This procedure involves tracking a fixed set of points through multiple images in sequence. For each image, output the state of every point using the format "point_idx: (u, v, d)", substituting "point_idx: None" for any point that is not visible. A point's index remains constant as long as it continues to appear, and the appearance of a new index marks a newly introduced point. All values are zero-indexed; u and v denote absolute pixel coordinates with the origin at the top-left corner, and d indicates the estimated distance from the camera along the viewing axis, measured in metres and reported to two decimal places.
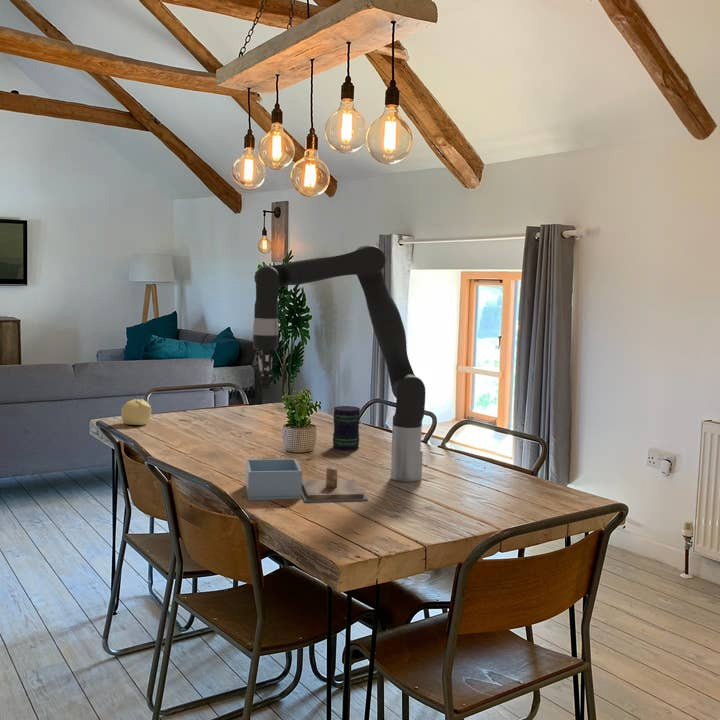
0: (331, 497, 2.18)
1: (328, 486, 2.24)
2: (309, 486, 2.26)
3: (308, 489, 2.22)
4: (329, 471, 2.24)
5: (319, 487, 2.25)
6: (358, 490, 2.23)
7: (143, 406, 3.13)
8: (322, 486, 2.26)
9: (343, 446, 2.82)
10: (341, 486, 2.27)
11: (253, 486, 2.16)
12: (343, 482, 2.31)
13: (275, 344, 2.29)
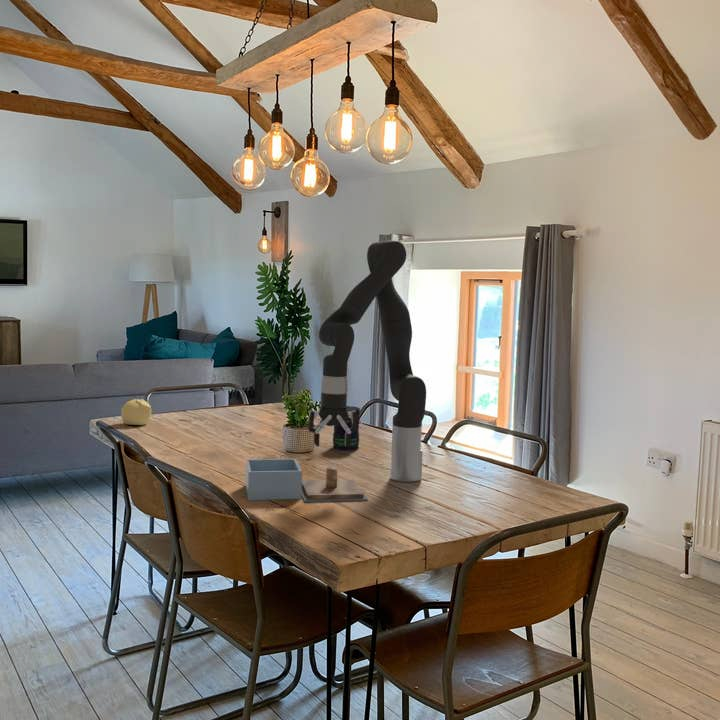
0: (331, 497, 2.18)
1: (328, 486, 2.24)
2: (309, 486, 2.26)
3: (308, 489, 2.22)
4: (329, 471, 2.24)
5: (319, 487, 2.25)
6: (358, 490, 2.23)
7: (143, 406, 3.13)
8: (322, 486, 2.26)
9: (343, 446, 2.82)
10: (341, 486, 2.27)
11: (253, 486, 2.16)
12: (343, 482, 2.31)
13: None
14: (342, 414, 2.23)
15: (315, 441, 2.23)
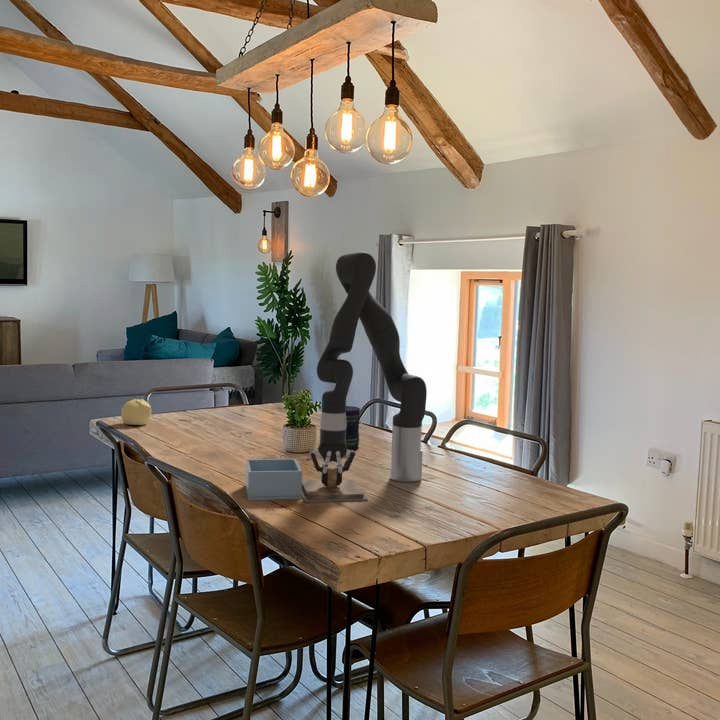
0: (331, 497, 2.18)
1: (328, 486, 2.24)
2: (309, 486, 2.26)
3: (308, 489, 2.22)
4: (329, 471, 2.24)
5: (319, 487, 2.25)
6: (358, 490, 2.23)
7: (143, 406, 3.13)
8: (322, 486, 2.26)
9: None
10: (341, 486, 2.27)
11: (253, 486, 2.16)
12: (343, 482, 2.31)
13: None
14: (341, 450, 2.24)
15: (323, 480, 2.24)
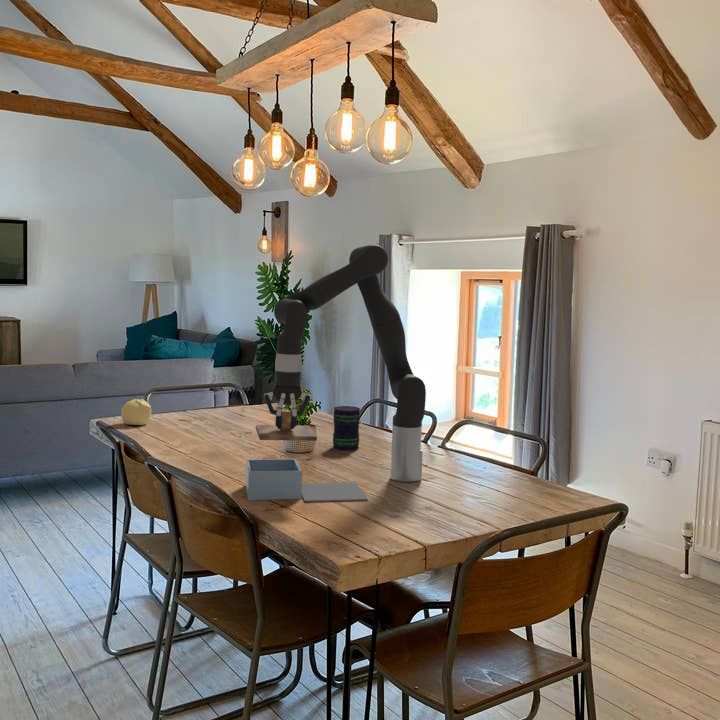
0: (284, 438, 2.15)
1: (282, 429, 2.21)
2: (263, 429, 2.23)
3: (261, 431, 2.19)
4: (283, 414, 2.21)
5: (272, 430, 2.22)
6: (312, 433, 2.20)
7: (143, 406, 3.13)
8: (276, 429, 2.23)
9: (343, 446, 2.82)
10: (296, 430, 2.24)
11: (253, 486, 2.16)
12: (298, 427, 2.28)
13: None
14: (296, 393, 2.21)
15: (277, 423, 2.21)
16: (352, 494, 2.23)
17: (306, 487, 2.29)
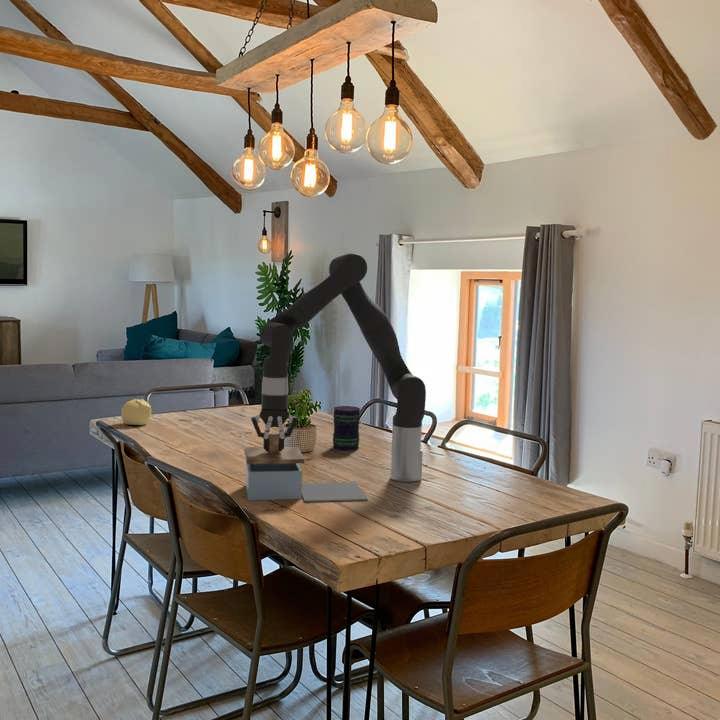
0: (271, 462, 2.16)
1: (270, 452, 2.22)
2: (251, 452, 2.24)
3: (249, 455, 2.20)
4: (271, 436, 2.22)
5: (260, 452, 2.23)
6: (300, 456, 2.21)
7: (143, 406, 3.13)
8: (264, 452, 2.24)
9: (343, 446, 2.82)
10: (284, 452, 2.24)
11: (253, 486, 2.16)
12: (287, 449, 2.29)
13: None
14: (283, 415, 2.22)
15: (264, 446, 2.22)
16: (352, 494, 2.23)
17: (306, 487, 2.29)
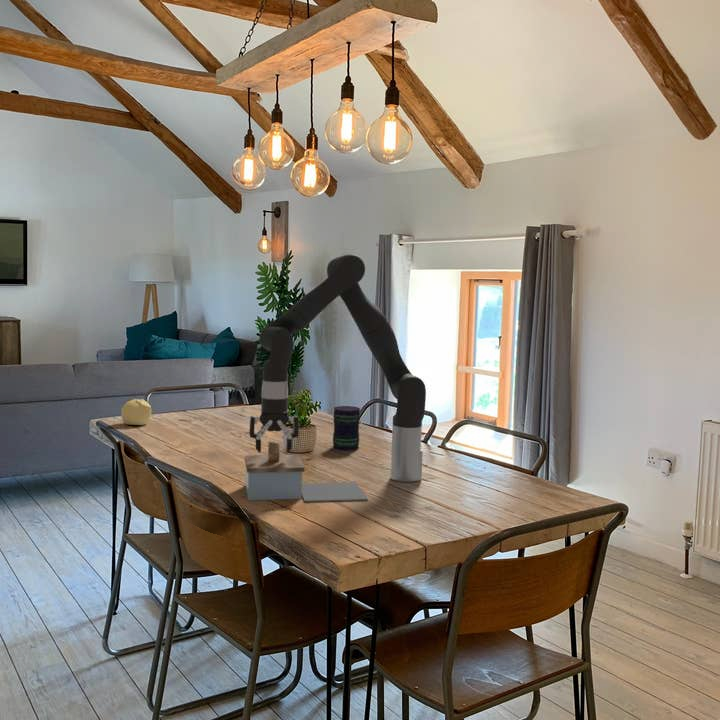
0: (271, 470, 2.16)
1: (270, 460, 2.22)
2: (251, 460, 2.24)
3: (249, 463, 2.20)
4: (271, 445, 2.22)
5: (260, 461, 2.23)
6: (300, 464, 2.21)
7: (143, 406, 3.13)
8: (264, 460, 2.24)
9: (343, 446, 2.82)
10: (284, 460, 2.25)
11: (253, 486, 2.16)
12: (287, 457, 2.29)
13: None
14: (283, 419, 2.22)
15: (257, 447, 2.22)
16: (352, 494, 2.23)
17: (306, 487, 2.29)
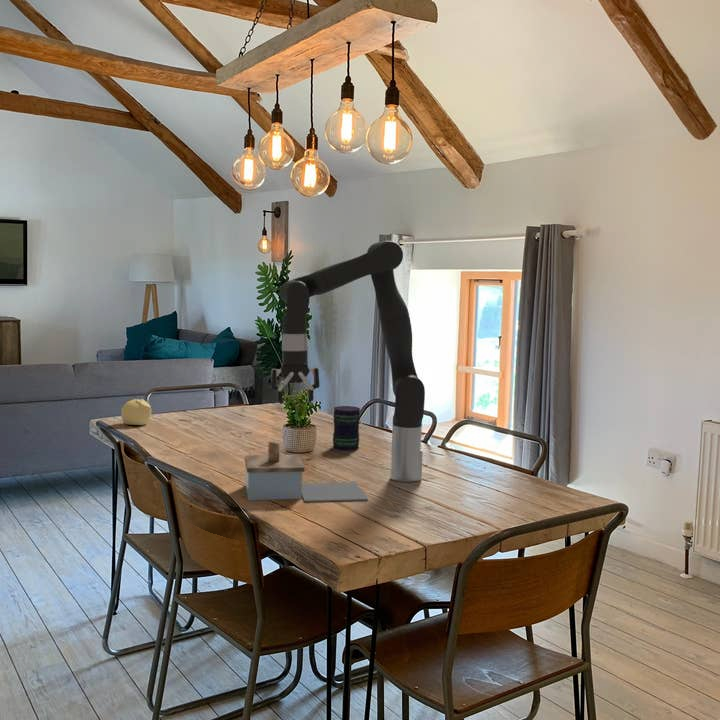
0: (271, 470, 2.16)
1: (270, 460, 2.22)
2: (251, 460, 2.24)
3: (249, 463, 2.20)
4: (271, 445, 2.22)
5: (260, 461, 2.23)
6: (300, 464, 2.21)
7: (143, 406, 3.13)
8: (264, 460, 2.24)
9: (343, 446, 2.82)
10: (284, 460, 2.25)
11: (253, 486, 2.16)
12: (287, 457, 2.29)
13: None
14: (304, 371, 2.28)
15: (278, 399, 2.27)
16: (352, 494, 2.23)
17: (306, 487, 2.29)
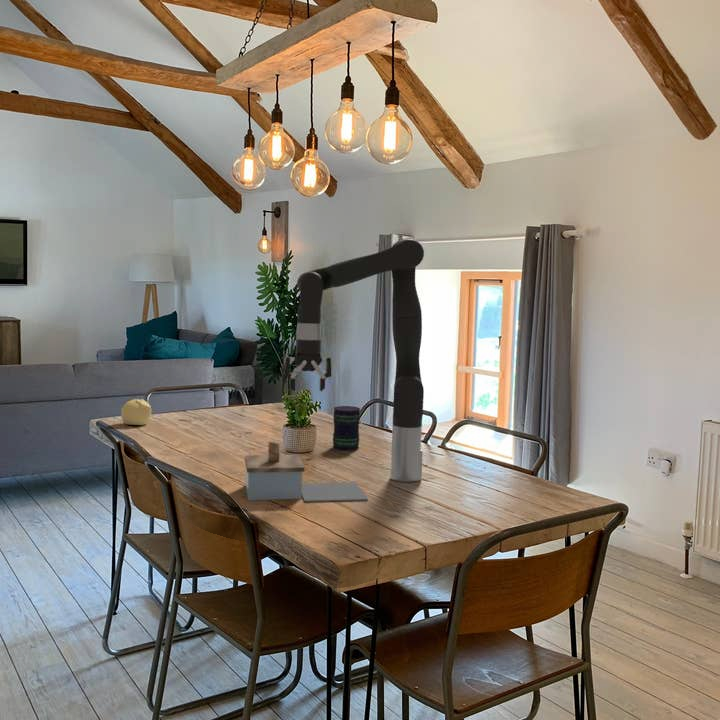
0: (271, 470, 2.16)
1: (270, 460, 2.22)
2: (251, 460, 2.24)
3: (249, 463, 2.20)
4: (271, 445, 2.22)
5: (260, 461, 2.23)
6: (300, 464, 2.21)
7: (143, 406, 3.13)
8: (264, 460, 2.24)
9: (343, 446, 2.82)
10: (284, 460, 2.25)
11: (253, 486, 2.16)
12: (287, 457, 2.29)
13: None
14: (316, 360, 2.34)
15: (291, 386, 2.34)
16: (352, 494, 2.23)
17: (306, 487, 2.29)
